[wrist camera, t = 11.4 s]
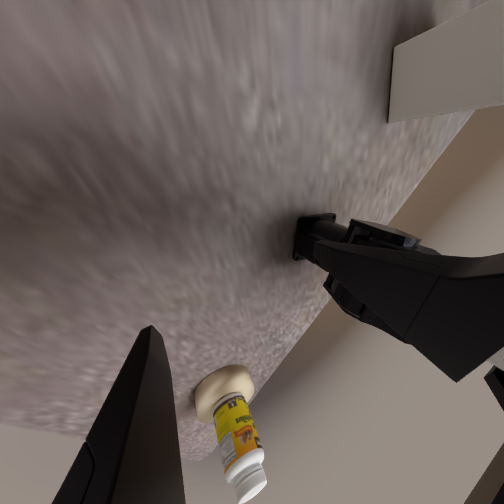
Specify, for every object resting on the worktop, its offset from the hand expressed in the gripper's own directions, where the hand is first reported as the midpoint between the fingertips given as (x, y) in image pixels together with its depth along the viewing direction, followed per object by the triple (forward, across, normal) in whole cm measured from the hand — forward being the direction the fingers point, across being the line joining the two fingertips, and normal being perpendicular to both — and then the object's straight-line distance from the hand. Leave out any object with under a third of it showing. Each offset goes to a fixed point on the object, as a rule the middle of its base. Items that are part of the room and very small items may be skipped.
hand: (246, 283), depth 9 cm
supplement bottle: (+7, +7, +31) cm, 32 cm away
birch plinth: (+10, +7, +31) cm, 33 cm away
